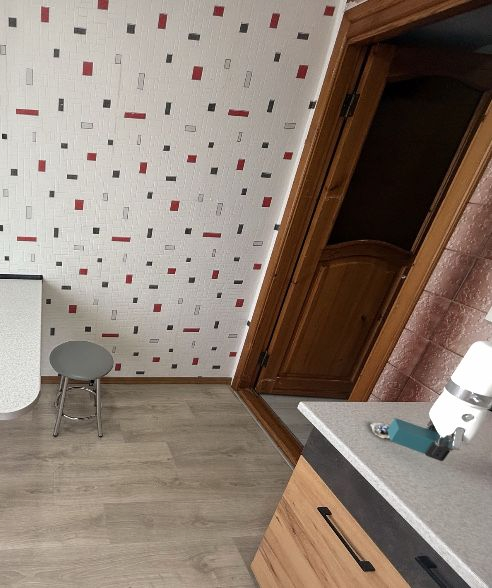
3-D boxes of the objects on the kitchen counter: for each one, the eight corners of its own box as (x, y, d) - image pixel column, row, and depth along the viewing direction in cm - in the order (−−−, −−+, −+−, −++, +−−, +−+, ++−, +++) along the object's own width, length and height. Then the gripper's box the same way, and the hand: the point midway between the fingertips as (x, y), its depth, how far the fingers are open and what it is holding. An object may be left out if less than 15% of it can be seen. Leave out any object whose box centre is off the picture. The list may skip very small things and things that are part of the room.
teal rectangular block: (437, 448, 84) (446, 435, 82) (443, 461, 80) (453, 447, 78) (386, 430, 88) (394, 417, 87) (390, 441, 85) (398, 428, 83)
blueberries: (408, 438, 92) (411, 433, 91) (390, 445, 89) (393, 440, 88) (381, 421, 97) (384, 416, 97) (363, 426, 95) (366, 421, 94)
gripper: (512, 422, 67) (463, 483, 74) (477, 380, 80) (438, 435, 88) (461, 406, 71) (419, 466, 78) (435, 368, 84) (402, 422, 91)
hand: (430, 449), depth 83 cm, fingers closed on teal rectangular block, 4 cm apart
